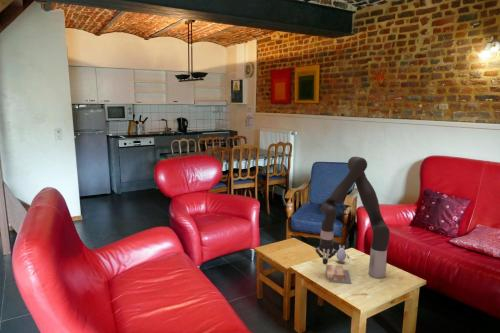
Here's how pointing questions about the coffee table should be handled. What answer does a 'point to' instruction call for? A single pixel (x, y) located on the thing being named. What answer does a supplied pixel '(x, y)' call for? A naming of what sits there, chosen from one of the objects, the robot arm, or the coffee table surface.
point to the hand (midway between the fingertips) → (324, 264)
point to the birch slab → (335, 272)
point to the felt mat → (347, 278)
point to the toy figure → (341, 254)
